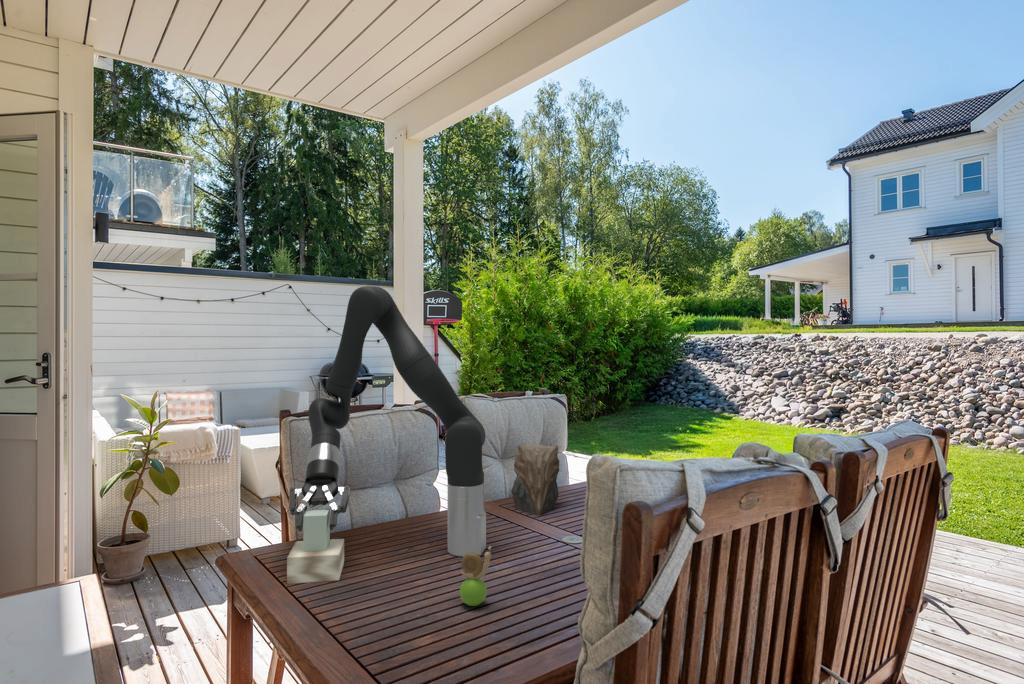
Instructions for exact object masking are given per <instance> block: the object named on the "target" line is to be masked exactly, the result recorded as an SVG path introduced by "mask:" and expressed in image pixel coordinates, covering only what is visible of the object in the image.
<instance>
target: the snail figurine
mask: <svg viewBox="0 0 1024 684" xmlns="http://www.w3.org/2000/svg"><path fill="white" fill-rule="evenodd" d="M487 549H488V550H489V551H485V552H484V553H483V554H484V561H483V560H482V559H483V558H481V555H477V554H475V553H468V554H466V555H465V556H462V559H461V565H460V566H461V567H462V569H463V570H464V571H460V572H461V575H462V576H464V578H466V579H465V580H464V581H463V582H462V583H461V585H460V588H459V596H460V599H461V601H462V602H463V603H464V604H466V605H467V606H469V607H476V606H479V605H481V604H483V602H484V601H485V599H486V597H487V595H488V594H487V593H488V588H487V585H486V583H485V582H484V580H482V578H483V577H484V576H485V575H486V574H487V572H488V570H489V566H490V562H491V561H490V560H491V558H492V551H491V549H492V546H491V545H489V546H488V548H487Z"/></svg>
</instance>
